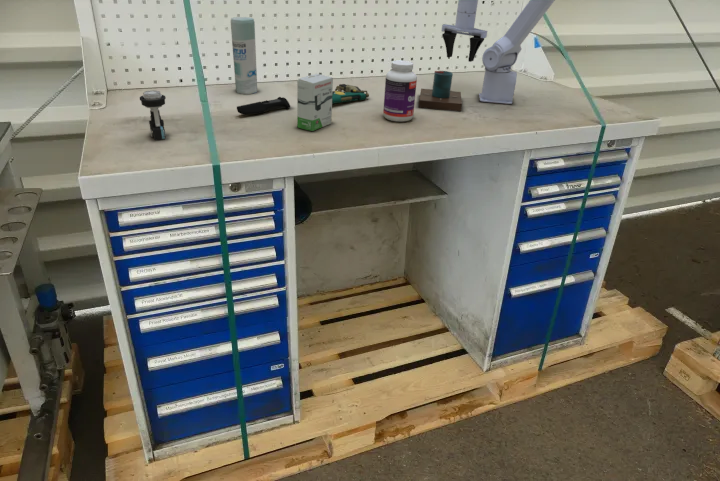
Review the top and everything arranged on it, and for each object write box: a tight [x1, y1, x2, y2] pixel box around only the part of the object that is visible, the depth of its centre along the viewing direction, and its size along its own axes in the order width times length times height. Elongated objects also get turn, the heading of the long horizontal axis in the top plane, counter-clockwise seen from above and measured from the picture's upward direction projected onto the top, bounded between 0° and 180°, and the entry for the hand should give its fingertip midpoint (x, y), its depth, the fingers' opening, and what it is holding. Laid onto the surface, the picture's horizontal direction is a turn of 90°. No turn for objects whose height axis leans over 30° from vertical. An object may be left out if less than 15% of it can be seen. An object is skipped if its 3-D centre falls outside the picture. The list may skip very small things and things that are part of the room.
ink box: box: [296, 73, 334, 132], centre depth 129 cm, size 9×5×12 cm, turn 148°
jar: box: [431, 70, 454, 98], centre depth 151 cm, size 5×5×7 cm
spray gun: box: [332, 83, 370, 105], centre depth 152 cm, size 4×17×15 cm
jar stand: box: [418, 88, 463, 112], centre depth 154 cm, size 13×12×2 cm
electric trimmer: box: [236, 96, 291, 116], centre depth 138 cm, size 4×16×3 cm, turn 133°
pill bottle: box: [382, 59, 418, 123], centre depth 136 cm, size 8×8×14 cm
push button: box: [139, 90, 167, 141], centre depth 118 cm, size 7×5×10 cm
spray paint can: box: [230, 16, 258, 95], centre depth 150 cm, size 6×6×20 cm
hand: (460, 59), depth 164 cm, fingers open, 7 cm apart
